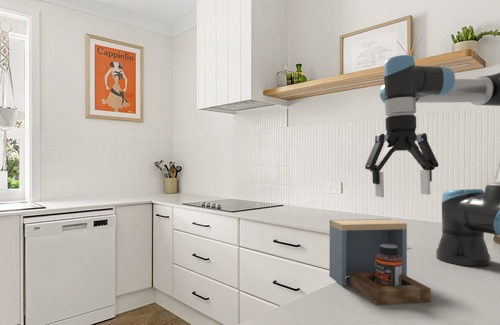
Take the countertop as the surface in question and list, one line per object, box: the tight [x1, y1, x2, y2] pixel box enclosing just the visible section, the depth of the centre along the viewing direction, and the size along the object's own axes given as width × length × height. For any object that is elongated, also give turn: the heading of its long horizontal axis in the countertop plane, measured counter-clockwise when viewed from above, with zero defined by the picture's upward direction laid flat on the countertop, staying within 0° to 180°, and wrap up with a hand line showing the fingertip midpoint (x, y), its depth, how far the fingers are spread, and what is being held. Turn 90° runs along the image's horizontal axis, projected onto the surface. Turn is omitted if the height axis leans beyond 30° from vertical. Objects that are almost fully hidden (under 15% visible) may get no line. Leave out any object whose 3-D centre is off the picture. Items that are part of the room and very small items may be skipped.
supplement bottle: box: [375, 244, 402, 287], centre depth 83 cm, size 6×6×11 cm
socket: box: [349, 272, 431, 306], centre depth 83 cm, size 13×13×3 cm
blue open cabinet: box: [328, 218, 408, 287], centre depth 93 cm, size 18×8×16 cm, turn 99°
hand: (403, 195), depth 92 cm, fingers open, 13 cm apart
